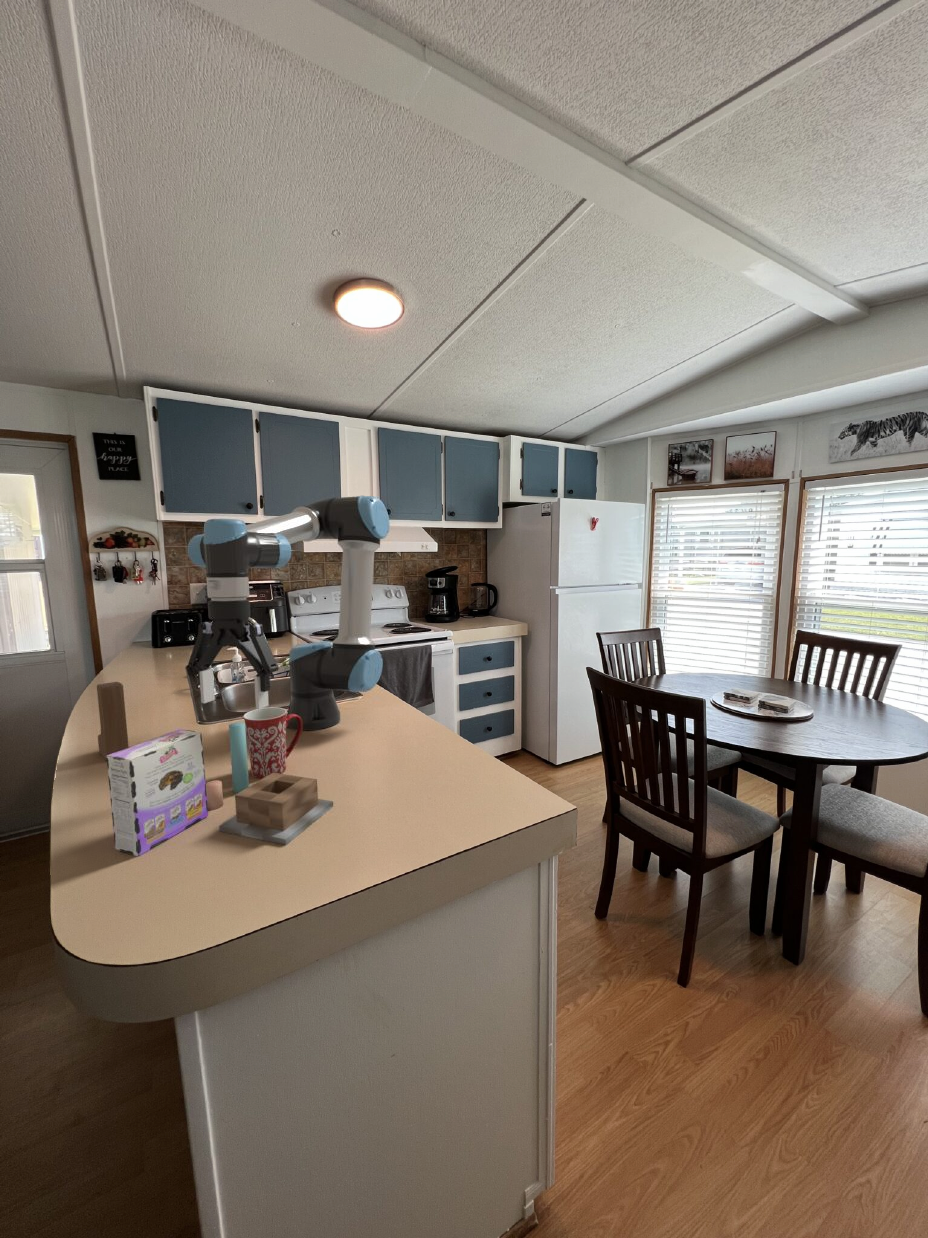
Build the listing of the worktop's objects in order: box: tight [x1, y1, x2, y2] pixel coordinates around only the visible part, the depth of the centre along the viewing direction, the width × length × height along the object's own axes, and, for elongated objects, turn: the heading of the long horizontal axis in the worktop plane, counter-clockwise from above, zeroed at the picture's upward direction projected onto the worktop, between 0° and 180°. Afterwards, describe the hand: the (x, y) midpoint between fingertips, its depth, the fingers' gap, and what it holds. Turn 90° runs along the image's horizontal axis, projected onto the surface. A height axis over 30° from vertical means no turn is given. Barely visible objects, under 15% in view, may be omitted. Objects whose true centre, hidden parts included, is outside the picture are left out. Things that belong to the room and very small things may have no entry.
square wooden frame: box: [218, 773, 334, 846], centre depth 93 cm, size 14×14×6 cm
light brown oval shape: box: [205, 780, 224, 811], centre depth 98 cm, size 3×3×4 cm
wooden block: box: [96, 681, 129, 761], centre depth 124 cm, size 9×4×18 cm, turn 46°
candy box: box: [106, 728, 209, 857], centre depth 88 cm, size 14×6×16 cm, turn 159°
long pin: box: [228, 721, 250, 795], centre depth 104 cm, size 3×3×14 cm
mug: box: [242, 706, 303, 779], centre depth 115 cm, size 13×9×14 cm
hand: (234, 704), depth 103 cm, fingers open, 13 cm apart
